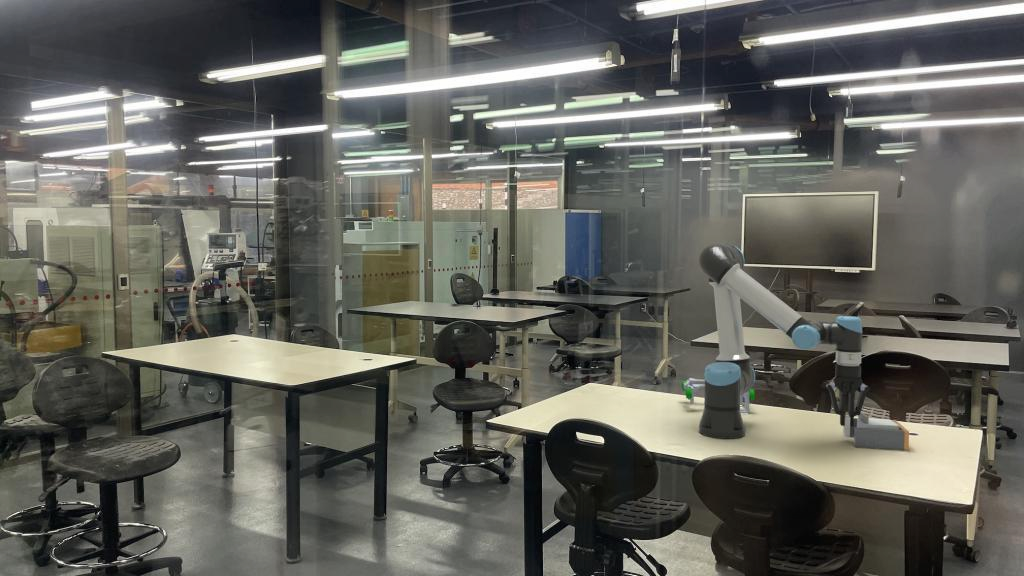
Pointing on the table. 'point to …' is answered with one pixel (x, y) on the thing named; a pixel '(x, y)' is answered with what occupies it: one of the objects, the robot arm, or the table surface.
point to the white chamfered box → (875, 423)
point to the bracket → (692, 387)
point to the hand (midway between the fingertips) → (846, 435)
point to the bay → (880, 437)
